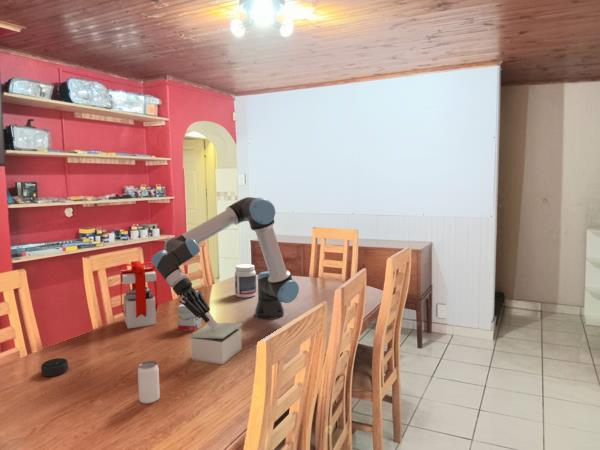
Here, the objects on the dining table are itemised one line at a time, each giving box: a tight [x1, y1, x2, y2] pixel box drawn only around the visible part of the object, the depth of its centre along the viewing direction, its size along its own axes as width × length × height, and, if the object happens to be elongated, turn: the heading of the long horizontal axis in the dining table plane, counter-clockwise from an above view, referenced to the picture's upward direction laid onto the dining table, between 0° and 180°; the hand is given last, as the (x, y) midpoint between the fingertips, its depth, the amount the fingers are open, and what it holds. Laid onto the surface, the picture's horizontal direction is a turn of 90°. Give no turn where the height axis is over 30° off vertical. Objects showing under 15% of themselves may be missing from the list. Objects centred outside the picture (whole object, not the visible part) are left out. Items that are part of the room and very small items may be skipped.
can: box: [137, 360, 161, 405], centre depth 147 cm, size 6×6×12 cm
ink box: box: [177, 303, 202, 332], centre depth 215 cm, size 9×9×12 cm
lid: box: [189, 322, 243, 339], centre depth 183 cm, size 15×17×1 cm
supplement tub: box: [234, 263, 257, 299], centre depth 272 cm, size 13×13×18 cm
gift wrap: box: [118, 260, 158, 329], centre depth 222 cm, size 17×17×30 cm
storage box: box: [190, 328, 242, 365], centre depth 183 cm, size 14×16×9 cm
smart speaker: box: [40, 357, 69, 377], centre depth 168 cm, size 9×9×4 cm
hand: (214, 326), depth 182 cm, fingers closed
